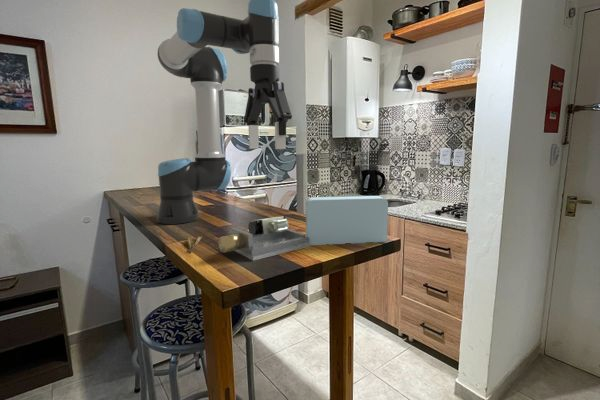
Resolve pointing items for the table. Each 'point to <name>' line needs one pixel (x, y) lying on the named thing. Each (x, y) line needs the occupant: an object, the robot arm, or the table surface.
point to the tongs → (194, 243)
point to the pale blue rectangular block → (346, 219)
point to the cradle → (263, 243)
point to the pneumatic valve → (268, 225)
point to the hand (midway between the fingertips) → (266, 148)
